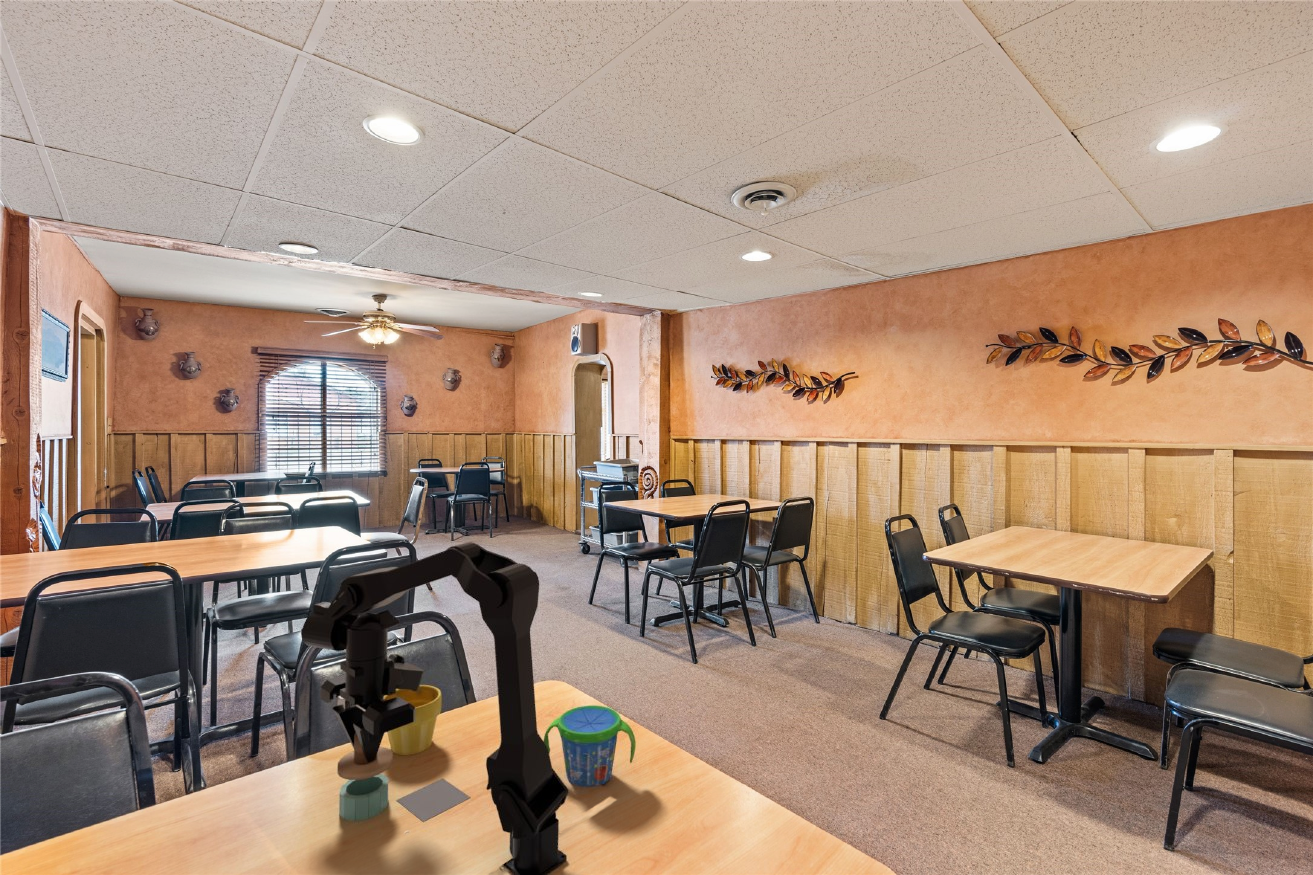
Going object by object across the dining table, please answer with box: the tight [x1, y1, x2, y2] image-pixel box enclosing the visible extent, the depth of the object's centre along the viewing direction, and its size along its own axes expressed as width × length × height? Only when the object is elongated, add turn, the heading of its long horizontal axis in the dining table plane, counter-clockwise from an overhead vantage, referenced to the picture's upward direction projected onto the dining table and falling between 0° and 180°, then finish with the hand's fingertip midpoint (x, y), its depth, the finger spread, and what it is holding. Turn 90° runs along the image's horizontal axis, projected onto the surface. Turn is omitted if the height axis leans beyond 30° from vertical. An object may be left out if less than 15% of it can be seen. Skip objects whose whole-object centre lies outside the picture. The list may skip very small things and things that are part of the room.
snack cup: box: [543, 705, 636, 788], centre depth 103 cm, size 16×10×10 cm
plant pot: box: [383, 684, 443, 756], centre depth 111 cm, size 10×10×10 cm
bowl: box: [338, 773, 390, 822], centre depth 93 cm, size 7×7×4 cm
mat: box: [395, 778, 471, 823], centre depth 95 cm, size 8×8×1 cm
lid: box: [337, 733, 394, 781], centre depth 93 cm, size 8×8×5 cm
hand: (365, 756), depth 93 cm, fingers closed on lid, 3 cm apart
